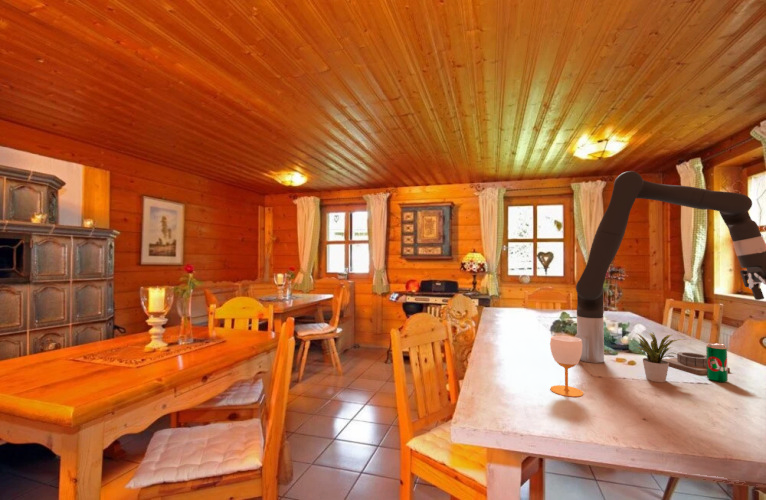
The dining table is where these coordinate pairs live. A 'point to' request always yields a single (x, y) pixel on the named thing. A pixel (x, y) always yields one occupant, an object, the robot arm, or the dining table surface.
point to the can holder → (690, 362)
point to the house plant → (656, 358)
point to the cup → (566, 361)
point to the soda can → (717, 362)
